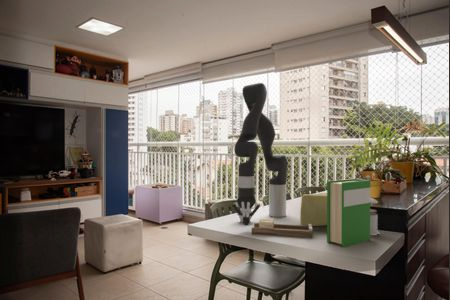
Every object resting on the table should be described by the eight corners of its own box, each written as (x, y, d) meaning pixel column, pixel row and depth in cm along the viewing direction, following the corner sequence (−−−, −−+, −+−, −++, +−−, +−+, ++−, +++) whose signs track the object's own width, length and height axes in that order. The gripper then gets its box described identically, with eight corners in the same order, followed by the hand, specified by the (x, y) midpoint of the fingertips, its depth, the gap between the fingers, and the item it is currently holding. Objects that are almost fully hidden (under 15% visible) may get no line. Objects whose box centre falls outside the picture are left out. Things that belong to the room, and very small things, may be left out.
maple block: (260, 227, 142) (260, 218, 142) (273, 228, 141) (273, 219, 141) (259, 230, 137) (259, 221, 137) (273, 231, 135) (273, 222, 135)
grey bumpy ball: (247, 228, 159) (258, 211, 162) (247, 226, 152) (258, 208, 154) (232, 218, 162) (243, 202, 164) (231, 216, 154) (242, 199, 156)
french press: (366, 236, 133) (366, 176, 133) (348, 229, 144) (348, 174, 144) (385, 234, 135) (385, 176, 135) (366, 227, 146) (366, 174, 146)
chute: (254, 228, 145) (254, 220, 145) (311, 231, 140) (311, 223, 140) (251, 234, 135) (251, 225, 135) (312, 237, 130) (312, 229, 130)
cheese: (307, 229, 144) (307, 196, 144) (295, 224, 154) (295, 193, 154) (346, 225, 152) (346, 194, 152) (332, 220, 161) (332, 191, 161)
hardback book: (343, 247, 117) (343, 182, 117) (326, 242, 123) (327, 181, 123) (370, 239, 127) (370, 180, 127) (353, 235, 133) (353, 178, 133)
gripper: (262, 185, 143) (261, 223, 143) (233, 184, 146) (233, 222, 146) (260, 187, 136) (260, 227, 136) (230, 186, 139) (230, 226, 139)
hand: (246, 225), depth 141 cm, fingers closed
